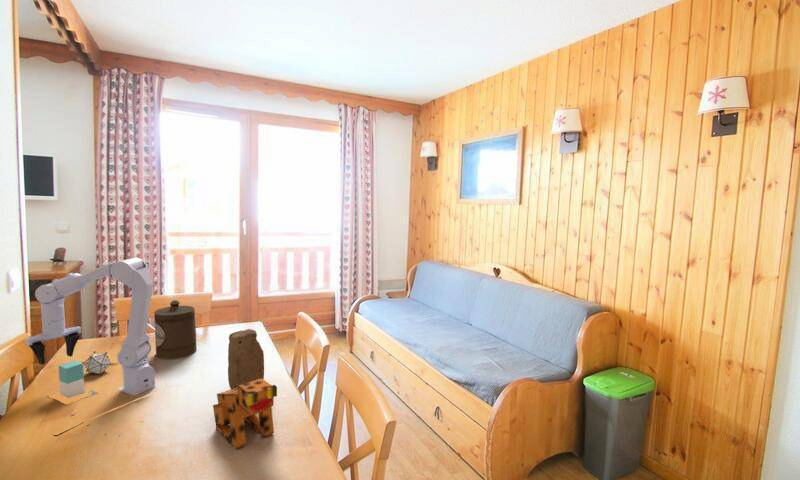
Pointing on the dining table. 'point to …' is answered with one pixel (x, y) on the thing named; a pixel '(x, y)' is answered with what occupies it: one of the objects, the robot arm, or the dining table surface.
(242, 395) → the toy animal
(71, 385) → the cream brick
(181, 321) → the wooden container
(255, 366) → the block
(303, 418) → the dining table surface
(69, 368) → the teal brick
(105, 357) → the game die
